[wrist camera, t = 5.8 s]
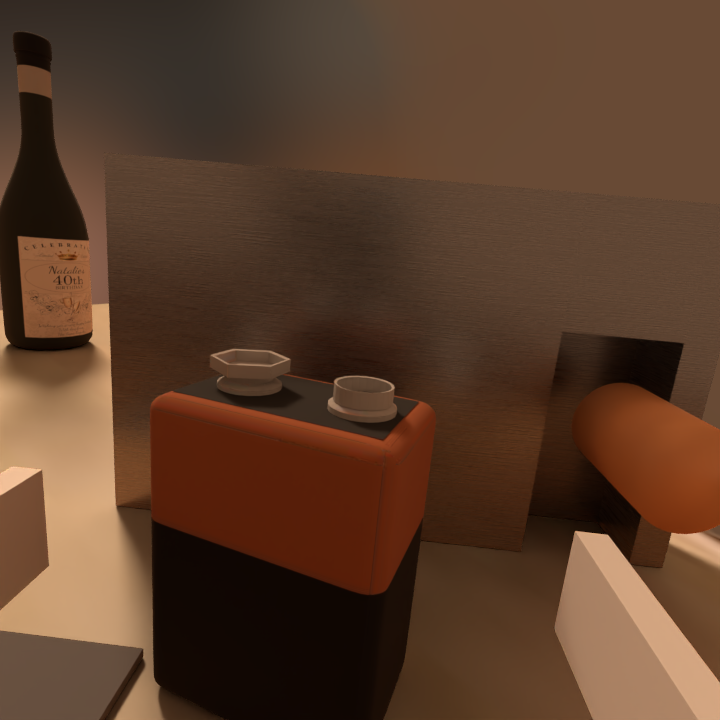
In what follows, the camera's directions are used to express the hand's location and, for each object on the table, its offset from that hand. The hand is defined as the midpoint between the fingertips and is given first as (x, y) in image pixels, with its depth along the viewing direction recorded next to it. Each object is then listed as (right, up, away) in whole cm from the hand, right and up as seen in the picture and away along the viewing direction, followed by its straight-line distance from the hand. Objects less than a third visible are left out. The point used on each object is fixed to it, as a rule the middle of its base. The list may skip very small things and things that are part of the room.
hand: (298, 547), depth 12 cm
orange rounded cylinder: (+12, 0, +6) cm, 13 cm away
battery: (-1, -5, +3) cm, 6 cm away
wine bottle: (-32, +6, +41) cm, 52 cm away
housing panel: (+3, -3, +13) cm, 13 cm away
